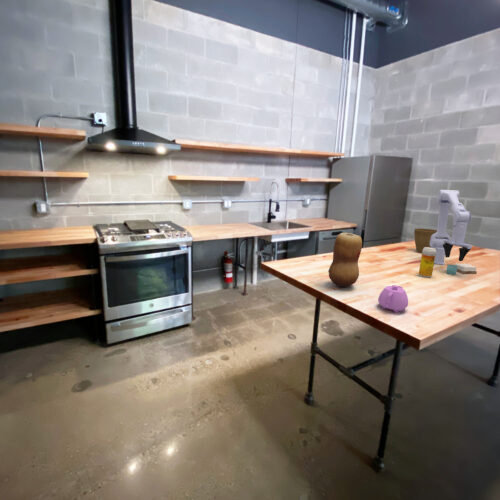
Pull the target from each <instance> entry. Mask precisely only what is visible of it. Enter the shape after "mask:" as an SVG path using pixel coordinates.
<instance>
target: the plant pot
mask: <svg viewBox="0 0 500 500" xmlns="http://www.w3.org/2000/svg"><path fill="white" fill-rule="evenodd" d="M413 231H414V232H413V233H414V242H415V243H414V245H415V249H416V252H417V253H419V254H422V251H423V249H424V247H430V248H431V246H430V239H431V236H432V235H433V234H435V233H436V232H437V229H433V228H432V229H431V228H414V230H413ZM436 238H438V237H436Z"/></svg>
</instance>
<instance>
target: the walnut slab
mask: <svg viewBox="0 0 500 500" xmlns="http://www.w3.org/2000/svg"><path fill="white" fill-rule="evenodd" d="M456 273H458V274H461V275H477V273H478V271H477V270H476V271H462V270H459V269H457V272H456Z"/></svg>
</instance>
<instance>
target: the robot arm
mask: <svg viewBox="0 0 500 500" xmlns="http://www.w3.org/2000/svg"><path fill="white" fill-rule="evenodd" d="M459 198H460V191H459V190H458V189H456V190H452V189H439V190H438V191H437V195H436V204H437V205H438V216H437V225H436V230H437V232H436V233H435V234H433V235H432V236H431V239H430V246H431V248H435V249H436V256H435V261H434V265H443V266H444V265H446V264H445V258H450V257H451V252H452V249H453V247H454V246H455V247H459V248H458V251H459V255H458V262H463V261H464V259H465V257H466V256H467V254H468V253H469V252H470V251H471V250H472V247H473V245H472V244H468V243H465V237H466V234H467V228H468V223H470V221H471V220H472V213H471V211H469V210H467V209H466V207H465V206H464V204H463V203H462V202H460V201H459ZM449 207H450V210H451V212H452V214H453V217H452V220H453V221H452V225H453V228H452V232H451V235H449V234H448V233H447V230H448V229H447V228H448V218H449ZM436 237H437V238H436Z"/></svg>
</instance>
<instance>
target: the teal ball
mask: <svg viewBox="0 0 500 500" xmlns="http://www.w3.org/2000/svg"><path fill="white" fill-rule="evenodd" d="M457 267H458V266H456V265H455V264H450V263H449V264H447V266H446V269H445V270H446V272H445V274H446V275H450V276H456V275H457V273H458V272H457Z"/></svg>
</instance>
